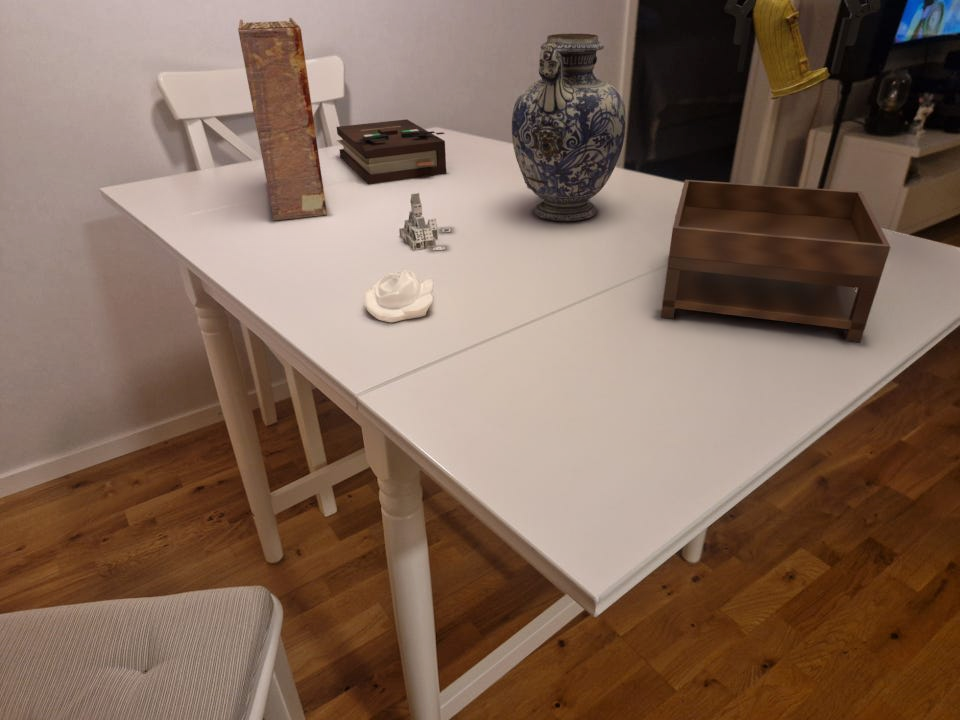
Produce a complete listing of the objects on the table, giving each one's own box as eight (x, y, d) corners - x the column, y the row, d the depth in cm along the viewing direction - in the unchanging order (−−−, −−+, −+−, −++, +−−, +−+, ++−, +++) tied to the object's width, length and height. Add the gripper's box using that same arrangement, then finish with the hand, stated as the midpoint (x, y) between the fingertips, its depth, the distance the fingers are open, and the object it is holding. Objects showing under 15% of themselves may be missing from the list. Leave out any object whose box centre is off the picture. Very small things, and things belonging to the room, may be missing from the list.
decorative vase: (536, 190, 127) (539, 28, 113) (631, 200, 120) (648, 29, 106) (490, 224, 110) (488, 40, 96) (598, 239, 103) (612, 43, 89)
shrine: (741, 104, 90) (764, -23, 82) (734, 94, 96) (753, -24, 89) (832, 106, 88) (863, -24, 80) (817, 95, 94) (845, -26, 87)
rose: (454, 271, 83) (398, 297, 76) (455, 303, 85) (401, 331, 79) (399, 253, 88) (343, 276, 82) (401, 283, 91) (347, 308, 84)
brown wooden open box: (838, 274, 90) (862, 191, 84) (860, 342, 74) (890, 246, 68) (673, 257, 97) (684, 179, 91) (660, 317, 80) (672, 227, 74)
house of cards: (469, 245, 103) (467, 197, 99) (416, 254, 100) (412, 205, 96) (449, 227, 110) (446, 181, 106) (399, 235, 107) (394, 189, 103)
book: (270, 183, 135) (239, 19, 120) (315, 178, 137) (291, 17, 122) (274, 221, 114) (237, 29, 99) (327, 215, 116) (300, 26, 101)
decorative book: (408, 113, 157) (454, 138, 133) (410, 145, 161) (456, 175, 137) (328, 121, 150) (361, 149, 127) (332, 155, 154) (365, 188, 131)
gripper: (931, -129, 78) (878, 69, 90) (723, -116, 85) (698, 66, 97) (946, -136, 72) (888, 77, 84) (721, -122, 79) (694, 73, 91)
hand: (786, 71), depth 90 cm, fingers closed on shrine, 11 cm apart
